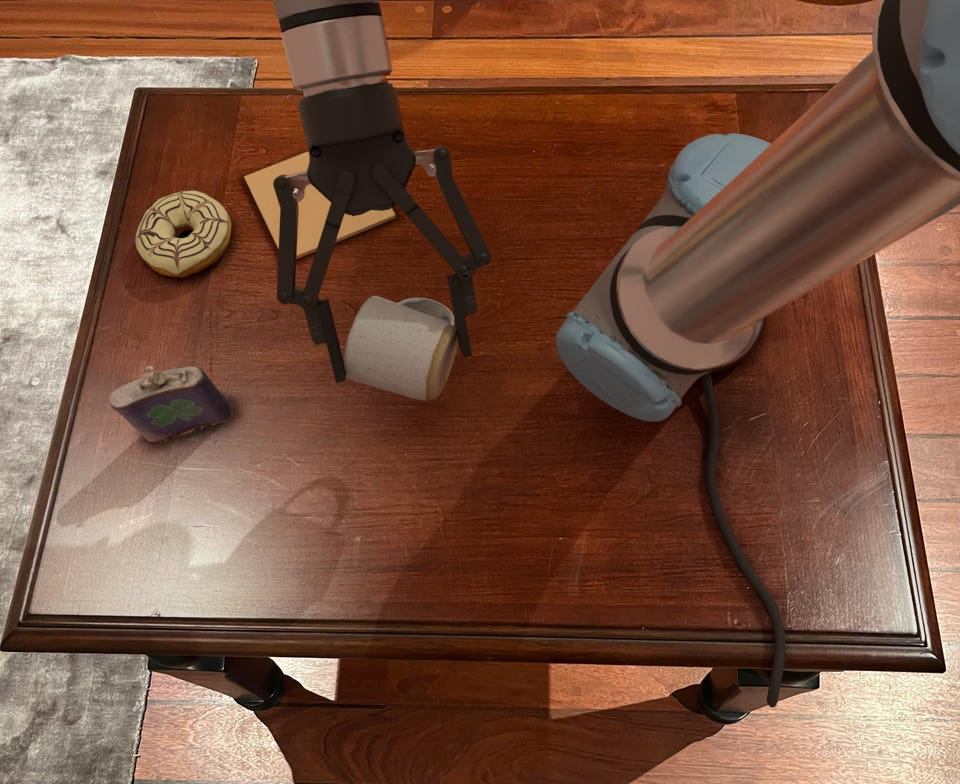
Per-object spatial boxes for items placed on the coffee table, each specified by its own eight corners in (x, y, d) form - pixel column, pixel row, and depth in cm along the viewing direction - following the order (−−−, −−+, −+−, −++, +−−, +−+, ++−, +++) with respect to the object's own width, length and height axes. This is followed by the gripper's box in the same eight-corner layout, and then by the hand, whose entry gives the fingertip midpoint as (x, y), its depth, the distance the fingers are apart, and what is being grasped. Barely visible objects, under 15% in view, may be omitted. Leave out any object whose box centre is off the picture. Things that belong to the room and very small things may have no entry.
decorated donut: (125, 252, 93) (110, 232, 90) (191, 193, 97) (180, 172, 93) (187, 297, 90) (174, 278, 87) (253, 234, 94) (243, 214, 90)
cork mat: (396, 218, 94) (395, 214, 94) (285, 264, 92) (284, 261, 91) (350, 138, 100) (349, 134, 99) (245, 179, 97) (243, 176, 97)
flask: (147, 447, 82) (100, 403, 73) (143, 422, 84) (96, 376, 74) (235, 420, 83) (200, 373, 74) (230, 396, 85) (195, 347, 75)
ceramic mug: (437, 419, 70) (430, 378, 63) (350, 394, 71) (334, 352, 64) (474, 319, 74) (472, 272, 67) (392, 297, 75) (381, 249, 68)
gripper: (485, 65, 64) (525, 327, 72) (204, 114, 63) (275, 377, 70) (499, 58, 57) (542, 350, 65) (183, 114, 56) (265, 406, 63)
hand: (403, 364), depth 68 cm, fingers closed on ceramic mug, 10 cm apart
